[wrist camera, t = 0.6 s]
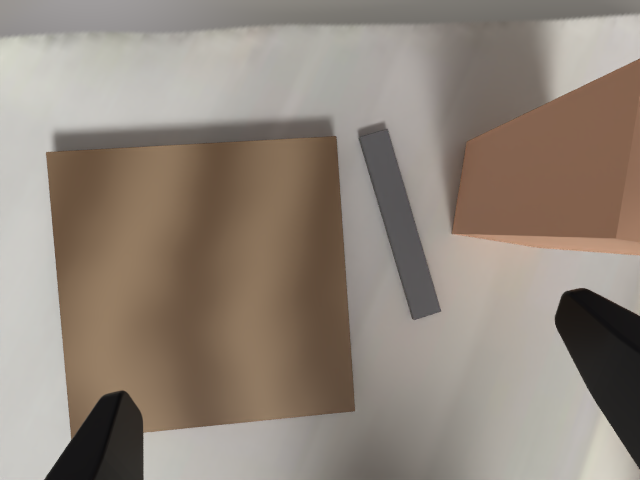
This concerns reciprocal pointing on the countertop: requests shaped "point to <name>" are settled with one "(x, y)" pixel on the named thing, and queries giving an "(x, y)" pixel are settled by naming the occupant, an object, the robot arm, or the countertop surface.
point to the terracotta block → (560, 172)
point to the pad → (203, 280)
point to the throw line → (399, 224)
